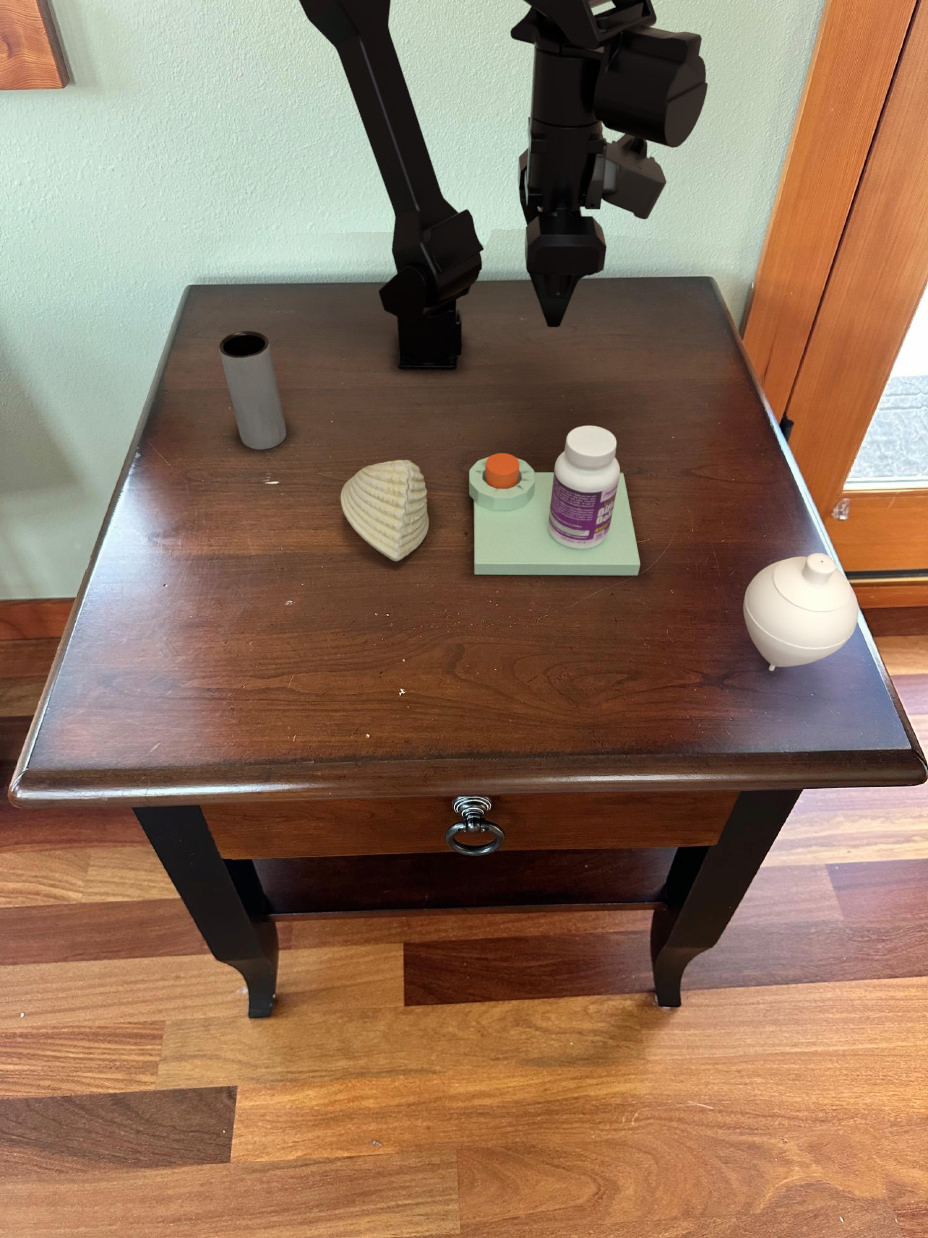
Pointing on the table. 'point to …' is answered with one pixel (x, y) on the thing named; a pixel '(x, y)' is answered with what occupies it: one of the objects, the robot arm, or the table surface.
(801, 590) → the spinning top
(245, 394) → the grey cylindrical tube
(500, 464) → the button
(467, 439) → the table surface
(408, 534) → the seashell
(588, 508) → the pill bottle
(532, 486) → the pale green base plate
